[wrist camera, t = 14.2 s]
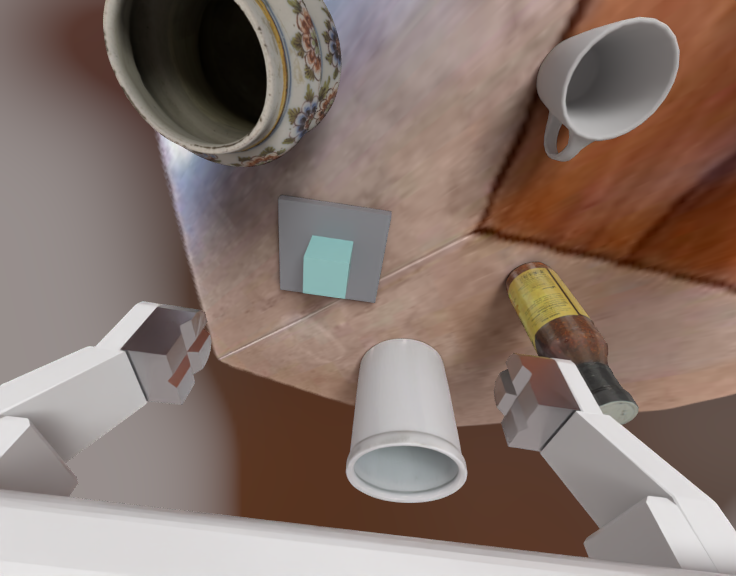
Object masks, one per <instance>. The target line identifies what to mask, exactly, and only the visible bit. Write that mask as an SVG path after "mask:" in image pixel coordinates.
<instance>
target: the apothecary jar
mask: <svg viewBox="0 0 736 576" xmlns="http://www.w3.org/2000/svg"><path fill="white" fill-rule="evenodd" d="M103 30H104V39H105V45H106V49H107V53H108V57H109V60H110V63H111V66H112V68H113V71H114V72H115V75H116V77H117V79H118V81H119V83H120V85H121V87H122V89H123V90H124V92H125V94H126V96H127V97H128V99H129V100H130V102H131V103H132V105H133V106H134V107H135V109H136V110H137V111H138V113H139V114H140V115H141V116H142V117H143V118H144V120H145V121H146V122H147V123H148V124H149V125H150V126H152V127H153V128H154V129H155V130H156V131H157V132H159V133H160V134H161V135H163V136H164V137H166V138H167V139H169V140H170V141H172V142H174V143H176V144H178V145H180V146H182V147H184V148H185V149H187V150H189V151H190V152H192V153H194V154H196V155H198V156H200V157H202V158H204V159H207V160H209V161H212V162H215V163H219V164H223V165H228V166H236V167H251V166H257V165H262V164H266V163H269V162H271V161H273V160H275V159H277V158H279V157H281V156H283V155H284V154H286V153H287V152H288V151H289V150H291V149H292V148H293V147H294V146H295V145H296V144H297V143H298V142H299V141H300V139H301V138H302V137H303V136H304V134H305V133H307V132H309V131H310V130H311V129H313V128H314V127H315V126H316V125H318V124H319V123H320V121H321V120H322V119H323V118H324V117H325V115H326V114H327V112H328V111H329V109H330V108H331V106H332V104H333V102H334V99H335V97H336V94H337V90H338V86H339V81H340V75H341V50H340V44H339V39H338V34H337V31H336V28H335V25H334V22H333V19H332V17H331V15H330V13H329V11H328V9H327V7H326V5H325V3H324V2H323V0H106V2H105V7H104V16H103Z"/></svg>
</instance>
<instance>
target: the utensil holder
mask: <svg viewBox="0 0 736 576" xmlns="http://www.w3.org/2000/svg"><path fill="white" fill-rule="evenodd" d="M346 474H347V478H348V480H349V481H350V483H351V484H352V485H353V486H354V487H355V488H357V489H358V490H360V491H361V492H363V493H365V494H367V495H370V496H372V497H375V498H378V499H382V500H386V501H393V502H403V503H417V502H427V501H432V500H437V499H440V498H443V497H446V496H448V495H450V494H452V493H454V492H455V491H457V490H458V489H460V488H461V487H462V486H463V484H464V483H465V481H466V478H467V468H466V463H465V460H464V457H463V456H462V454H461V449H460V443H459V437H458V432H457V427H456V422H455V417H454V412H453V407H452V402H451V396H450V391H449V387H448V382H447V378H446V373H445V369H444V365H443V361H442V359H441V357H440V355H439V354H438V352H437V351H436V350H435V349H433V348H432V347H431V346H429V345H427V344H425V343H423V342H420V341H417V340H412V339H391V340H387V341H384V342H381V343H379V344H377V345H375V346H374V347H372V348H371V349H370V350H368V351H367V352H366V354H365V355H364V357H363V358H362V361H361V365H360V371H359V378H358V386H357V395H356V404H355V413H354V422H353V431H352V440H351V449H350V453H349V456H348V459H347V464H346Z"/></svg>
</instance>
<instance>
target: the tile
mask: <svg viewBox="0 0 736 576" xmlns="http://www.w3.org/2000/svg"><path fill="white" fill-rule="evenodd" d="M278 216H279V256H280V289H281V290H288V291H295V292H302V293H303V265H304V255H305V252H306V250H307V247H308V245H309V242H310V240H311V237H312V235H314V236H321V237H327V238H334V239H341V240H348V241H353V249H352V257H351V265H350V273H349V279H348V285H347V290H346V296H345V299H351V300H358V301H365V302H372V303H375V300H376V294H377V289H378V284H379V279H380V273H381V268H382V263H383V258H384V252H385V247H386V242H387V237H388V231H389V226H390V221H391V211H385V210H378V209H372V208H365V207H359V206H352V205H345V204H339V203H332V202H326V201H319V200H312V199H306V198H299V197H292V196H286V195H280V197H279V198H278Z"/></svg>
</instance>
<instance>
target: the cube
mask: <svg viewBox="0 0 736 576" xmlns="http://www.w3.org/2000/svg"><path fill="white" fill-rule="evenodd" d="M352 249H353V241H348V240H341V239H334V238H327V237H321V236H314V235H312V237H311V240H310V242H309V245H308V247H307V250H306V252H305V255H304V265H303V293H307V294H314V295H321V296H328V297H335V298H342V299H345V296H346V290H347V285H348V279H349V273H350V265H351V257H352Z"/></svg>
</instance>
